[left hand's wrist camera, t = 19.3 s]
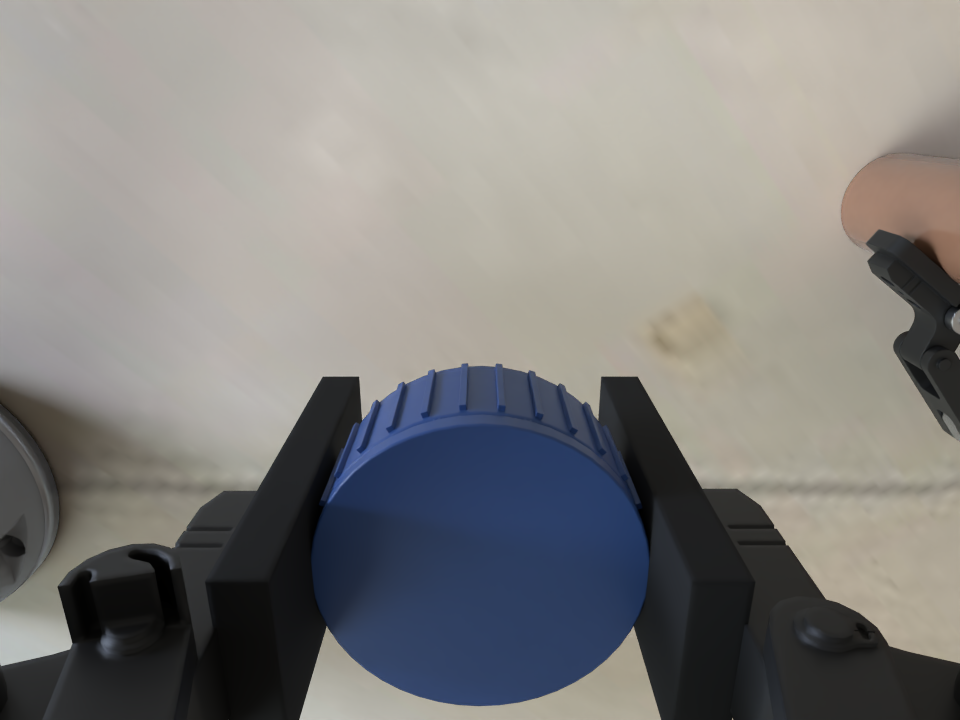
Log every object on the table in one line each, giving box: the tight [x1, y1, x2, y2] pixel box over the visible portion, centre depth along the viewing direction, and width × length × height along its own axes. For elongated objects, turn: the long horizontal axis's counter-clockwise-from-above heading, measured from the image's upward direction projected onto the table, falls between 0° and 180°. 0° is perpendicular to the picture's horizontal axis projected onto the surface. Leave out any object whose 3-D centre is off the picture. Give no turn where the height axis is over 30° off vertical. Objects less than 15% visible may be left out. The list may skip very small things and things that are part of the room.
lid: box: [311, 363, 650, 706], centre depth 11 cm, size 5×5×2 cm
